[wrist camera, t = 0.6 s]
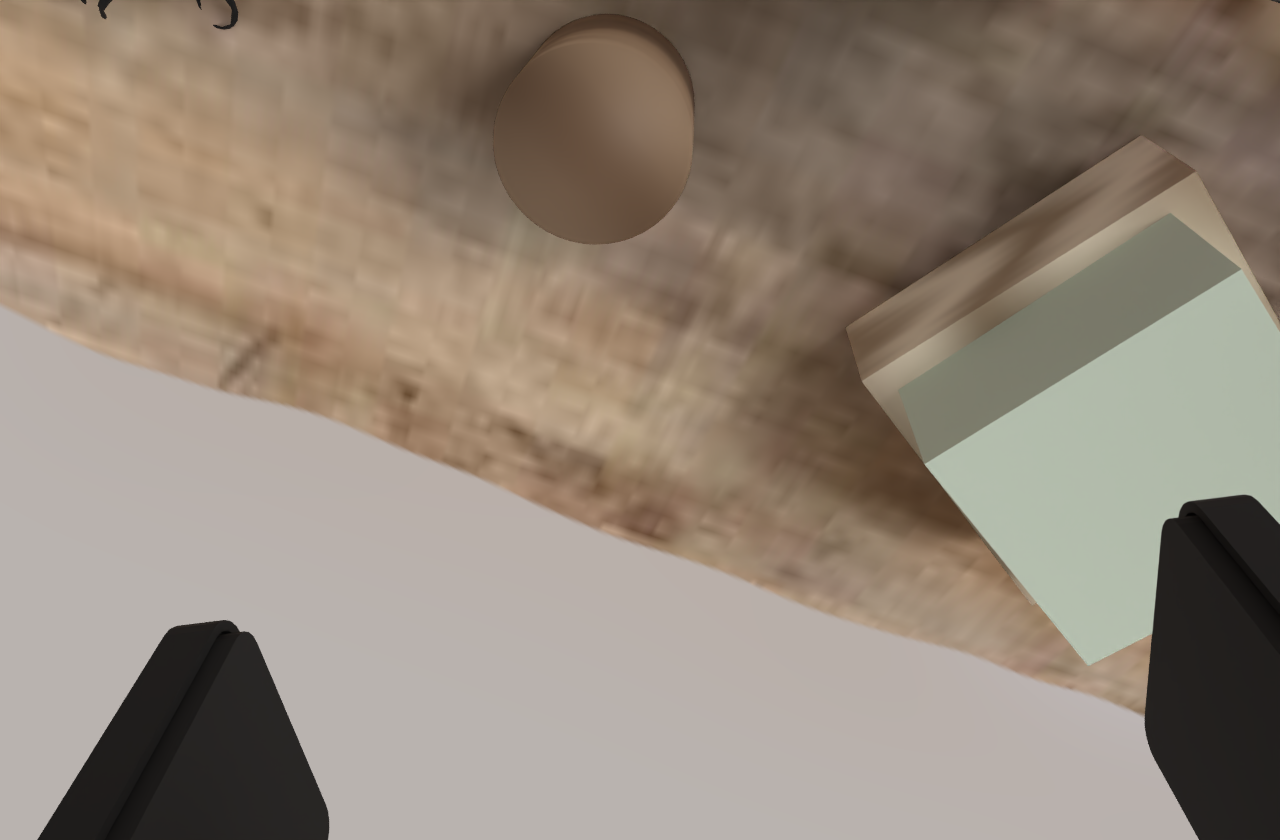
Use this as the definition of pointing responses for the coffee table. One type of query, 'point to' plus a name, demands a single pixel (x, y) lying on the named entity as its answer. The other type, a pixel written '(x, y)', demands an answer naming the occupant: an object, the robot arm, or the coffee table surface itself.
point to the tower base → (1030, 270)
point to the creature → (103, 3)
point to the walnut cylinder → (597, 130)
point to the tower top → (1107, 425)
